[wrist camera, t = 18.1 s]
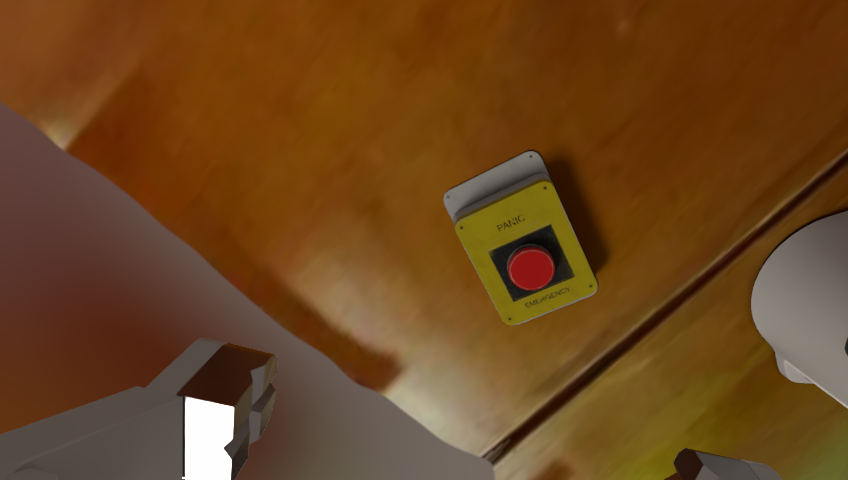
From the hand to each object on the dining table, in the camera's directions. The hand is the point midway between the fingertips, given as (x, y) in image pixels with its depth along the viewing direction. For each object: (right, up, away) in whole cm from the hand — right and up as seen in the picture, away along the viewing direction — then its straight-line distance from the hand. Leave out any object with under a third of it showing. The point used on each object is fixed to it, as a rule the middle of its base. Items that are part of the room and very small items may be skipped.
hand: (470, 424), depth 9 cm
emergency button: (+8, +4, +32) cm, 33 cm away
